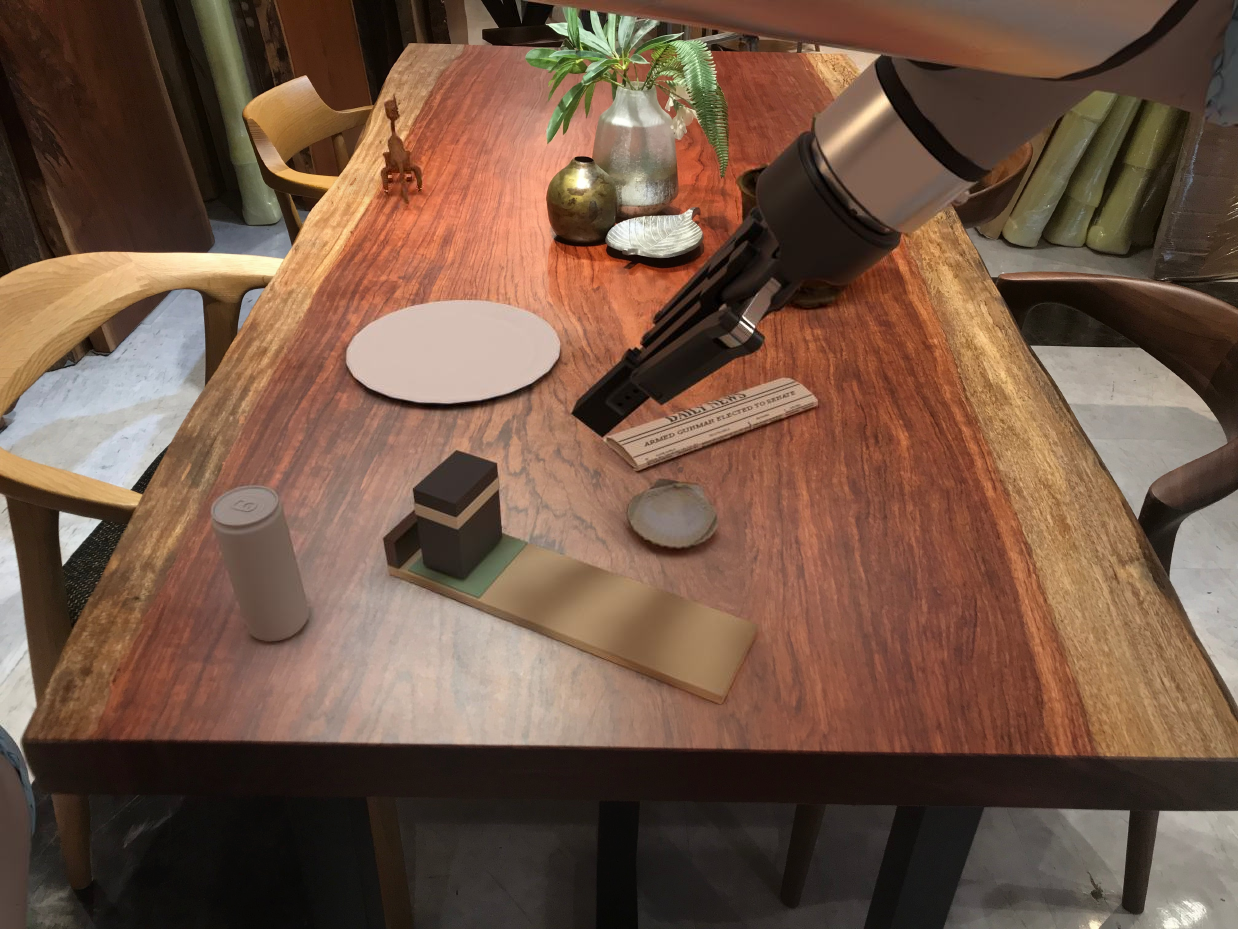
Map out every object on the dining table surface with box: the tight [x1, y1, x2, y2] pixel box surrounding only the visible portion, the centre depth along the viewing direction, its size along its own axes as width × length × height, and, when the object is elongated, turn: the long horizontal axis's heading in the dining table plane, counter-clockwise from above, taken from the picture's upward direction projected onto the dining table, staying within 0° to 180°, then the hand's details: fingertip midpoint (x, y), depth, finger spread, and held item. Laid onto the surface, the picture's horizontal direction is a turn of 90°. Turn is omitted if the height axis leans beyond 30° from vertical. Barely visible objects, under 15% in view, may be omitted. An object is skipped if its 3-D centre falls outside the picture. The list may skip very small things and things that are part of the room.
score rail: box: [382, 508, 759, 705], centre depth 72 cm, size 30×8×4 cm, turn 64°
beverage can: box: [210, 484, 310, 643], centre depth 67 cm, size 5×5×12 cm
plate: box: [345, 299, 562, 406], centre depth 106 cm, size 25×25×1 cm
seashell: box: [626, 477, 719, 550], centre depth 80 cm, size 8×3×8 cm
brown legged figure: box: [380, 93, 423, 205], centre depth 146 cm, size 18×7×14 cm, turn 16°
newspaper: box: [600, 377, 819, 472], centre depth 95 cm, size 24×7×2 cm, turn 122°
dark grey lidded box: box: [412, 449, 503, 580], centre depth 73 cm, size 4×6×8 cm
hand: (589, 418), depth 60 cm, fingers closed
